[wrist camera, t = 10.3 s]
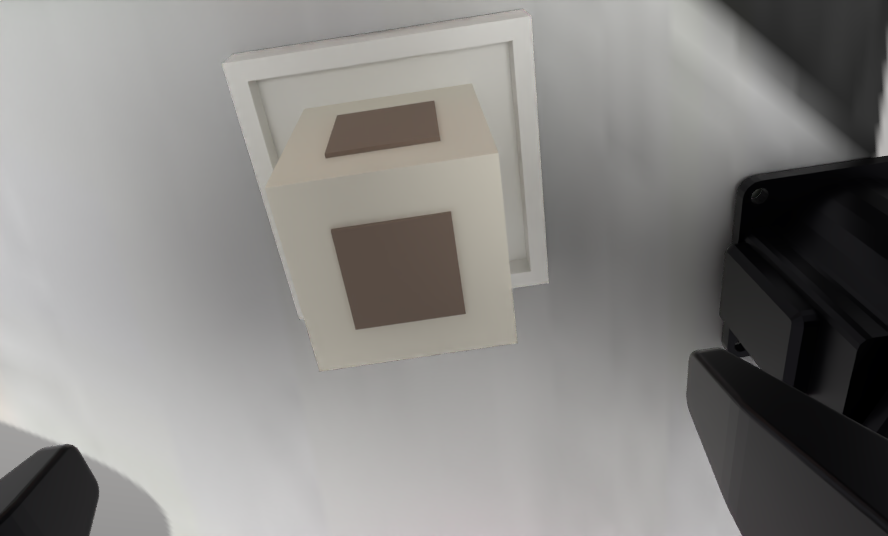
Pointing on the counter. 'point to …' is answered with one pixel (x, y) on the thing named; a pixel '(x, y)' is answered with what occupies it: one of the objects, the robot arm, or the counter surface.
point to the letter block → (395, 228)
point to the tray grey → (398, 72)
